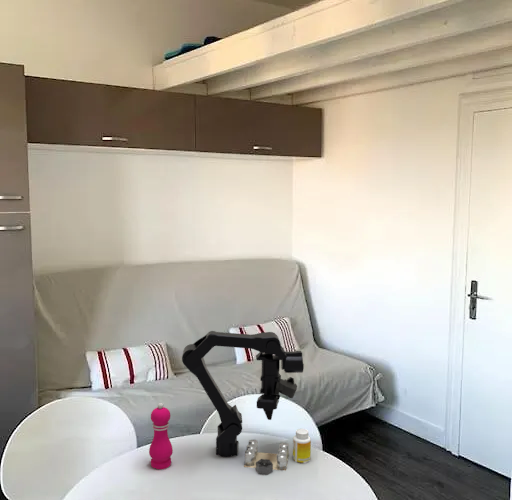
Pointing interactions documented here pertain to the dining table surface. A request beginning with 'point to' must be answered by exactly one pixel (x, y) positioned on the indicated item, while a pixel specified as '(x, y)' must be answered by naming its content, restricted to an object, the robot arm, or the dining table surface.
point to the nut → (264, 466)
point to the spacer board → (269, 457)
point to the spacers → (253, 451)
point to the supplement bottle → (301, 446)
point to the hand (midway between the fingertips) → (269, 419)
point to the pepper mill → (160, 438)
